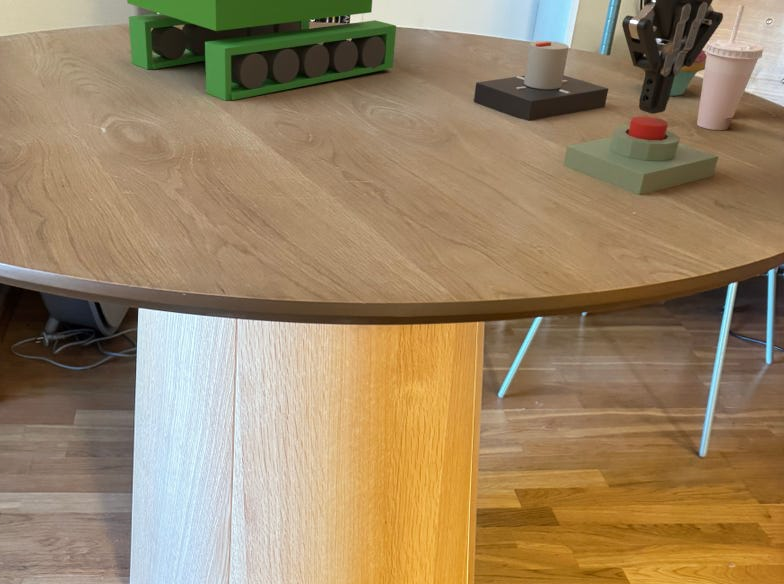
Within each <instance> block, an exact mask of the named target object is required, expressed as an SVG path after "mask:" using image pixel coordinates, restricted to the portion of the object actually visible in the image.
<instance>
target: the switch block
mask: <svg viewBox="0 0 784 584" xmlns="http://www.w3.org/2000/svg"><path fill="white" fill-rule="evenodd" d="M629 128H630V124H625V125H621V126H616V127H615V129H614V130H613V131H612V136H609V137H604V138H599V139H595V140H594V139H593V140H590V141H584V142H580V143H575V144H569V145H566V149H565V156H564V160H563V166H564V167H566V168H569V169H571V170H574V171H576V172H579V173H582V174H585V175H587V176H590V177H592V178H594V179H597V180H600V181H603V182H604V183H606V184H607V183H608V184H610V185H612V186H615V187H617V188H620V189H623V190H625V191H628V192H630V193H633V194H635V195H638V196H642V195H645V194H649V193H653V192H657V191H661V190H664V189H668V188H672V187H676V186H679V185H684V184H688V183H691V182H696V181H700V180H703V179H708V178H711V177H713V176H714V175H715V174H714V173H715V170H716V167H717V163H718V160H719V155H716V154H713V153H711V152H707V151H703V150H701V149H698V148H695V147H692V146H688V145H685V144H682V143H680V139H681V137H680V136H679V135H678V134H676V133H675V132H673V131H671V130H668V129H666V133H665V137H664V140H645V139H639V138H635V137H633V136H630V135H628V132H629Z"/></svg>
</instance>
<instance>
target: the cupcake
mask: <svg viewBox="0 0 784 584" xmlns="http://www.w3.org/2000/svg"><path fill="white" fill-rule="evenodd" d="M687 52H688V51H687ZM687 52H686V53H687ZM644 55H645V54H644ZM706 57H707V52H706V51H705V50H704V49H702V51H701V52H700V54H699V55H698V57H697V58H696V60H695V61H694V63H693V64H692V65H691V66H690V67H687V66H684V67H682V69H681V71H680V73H679V74H678V75H675V77H674V81H673V85H672V89H671V92H670V96H671V97H677V96H682V95H684V93H685V91H686V89H687V88H688V86H689V85H690V83H691V82H692V80H693V79H694V77H695V75H697V73H699V72H701V71H705V63H706ZM670 96H669V97H670Z"/></svg>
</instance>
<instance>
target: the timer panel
mask: <svg viewBox="0 0 784 584" xmlns="http://www.w3.org/2000/svg"><path fill="white" fill-rule="evenodd" d="M524 78H525V75H520V76H519V75H517V76H513V77H512V76H511V77H505V78H497V79H491V80H484V81H476V83H475V89H474V96H473V102H474V103H477V104H479V105H482V106H485V107H488V108H489V109H493V110H496V111H499V112H501V113H505V114H507V115H510V116H513V117H516V118H519V119H521V120H525V121H528V122H530V121H536V120H542V119H547V118H552V117H553V118H554V117H557V116H564V115H569V114H576V113H581V112H586V111H587V112H588V111H592V110H597V109H603V108H605V107H606V102H607V98H608V93H609V88H608V87H605V86H601V85H598V84H595V83H592V82H587V81H584V80H581V79H578V78H574V77H571V76H568V75H565V74H564V75H563V81H562V86H561V88H558V89H551V90H547V89H537V88H532V87H529V86H526V85H525V84H524Z"/></svg>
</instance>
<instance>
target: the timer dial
mask: <svg viewBox="0 0 784 584" xmlns="http://www.w3.org/2000/svg"><path fill="white" fill-rule="evenodd" d="M568 53H569V44H566V43H563V42H559V41H553V40H551V41H550V40H534V41H530V43H529V47H528V54H527V60H526V66H525V73H524V76H525V78H524V84H525V85H526V86H529V87H532V88H537V89H547V90H551V89H558V88H561V86H562V81H563V75H564V76H565V70H566V63H567V58H568Z"/></svg>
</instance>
